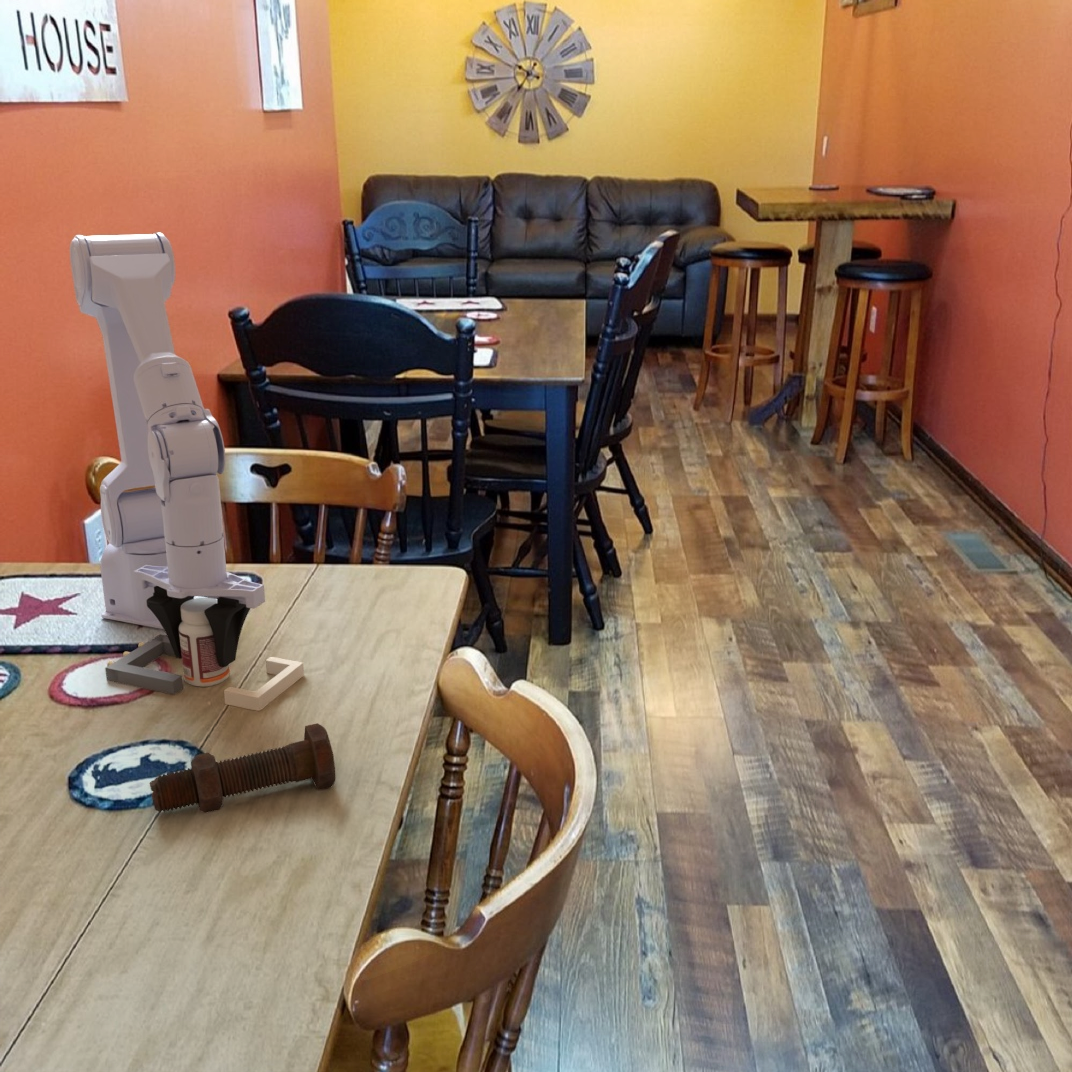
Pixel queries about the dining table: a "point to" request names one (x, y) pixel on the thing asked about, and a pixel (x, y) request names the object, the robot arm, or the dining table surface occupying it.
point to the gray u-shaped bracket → (135, 675)
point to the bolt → (246, 773)
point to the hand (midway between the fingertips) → (205, 658)
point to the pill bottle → (199, 645)
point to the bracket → (267, 685)
